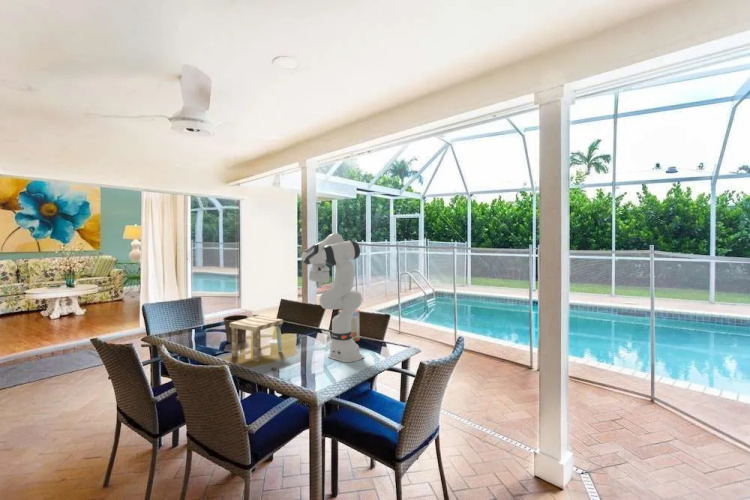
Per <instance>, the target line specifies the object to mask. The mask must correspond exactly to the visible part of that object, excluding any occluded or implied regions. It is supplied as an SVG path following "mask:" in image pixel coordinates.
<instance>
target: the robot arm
mask: <svg viewBox="0 0 750 500" xmlns="http://www.w3.org/2000/svg"><path fill="white" fill-rule="evenodd" d="M360 254H361V247H360V245H359V243H358V242H357V241H354V240H350V239H347V240H345V241H344V238H343V236H342V235H341V234H339V233H331V234H328V235H327V236H326V238H324V239H323V240H322V241H320V242H318V243H316V244H313V245H312V246H311V247H309V248H308V249H304V250H303V252H302V254H301V260H302V262H303V264H305V265H311V268H310V269H309V277H308V280H309V281H312V282H315V285H316V288H317V289H321V288H322V285H323V283H329V282H330V268H329V266H330V267H331V268H332V267H333V268H334V267H335V271H334V272H335V273H334V280H333V285H332V286H331V287H330V288H329V289H328V290H326V291H324V292H322V294H321V295H320V296H319V304H320V306H321V308H322V309H324V310H330V311H331V310H342V311H341V313H340V314H337V315H335V316H334V317H333V318H332V320H331V322H332V323H331V329H332V330H331V341H330V346H329V354H328V355H327V357H328V358H329V359H332V360H335V361H340V362H341V363H342V362H343V363H352V362H358V361H360V360H363V359H364V357H365V355H363V354H362V353H360V352H361V350H360V346H359V344H357V343H356V341H354V340H353V339H352V335H353V334H352V333H351V331H350V324H351V317H352V315H353V313H354V311H355V310H358V308H360V307H361V305H362V303H363V297H362V294H361V292H360V291H357V290H352V289H353V285H354V280H355V265H354V264H353V262H351V260H355V259H357V258H358V259H359V257H360ZM326 264H327V265H329V266H327V265H326ZM362 358H363V359H362Z"/></svg>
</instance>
